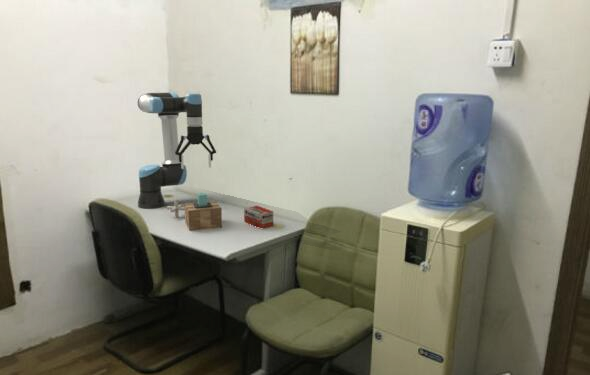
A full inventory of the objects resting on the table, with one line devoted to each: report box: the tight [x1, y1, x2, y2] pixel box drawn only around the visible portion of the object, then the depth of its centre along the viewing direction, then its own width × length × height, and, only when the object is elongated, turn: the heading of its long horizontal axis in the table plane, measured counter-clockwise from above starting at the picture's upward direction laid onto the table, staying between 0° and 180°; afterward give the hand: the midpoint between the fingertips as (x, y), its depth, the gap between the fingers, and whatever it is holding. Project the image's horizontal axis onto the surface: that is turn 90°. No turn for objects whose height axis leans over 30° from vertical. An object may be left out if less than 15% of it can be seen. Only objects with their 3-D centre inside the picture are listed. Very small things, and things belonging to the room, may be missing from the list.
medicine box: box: [243, 205, 274, 229], centre depth 231 cm, size 15×8×8 cm, turn 41°
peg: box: [197, 192, 208, 206], centre depth 227 cm, size 4×4×8 cm
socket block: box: [184, 200, 223, 231], centre depth 229 cm, size 14×16×10 cm
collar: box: [192, 201, 212, 209], centre depth 228 cm, size 8×8×1 cm
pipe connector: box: [166, 198, 185, 219], centre depth 241 cm, size 10×10×10 cm
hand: (196, 167), depth 229 cm, fingers open, 13 cm apart
